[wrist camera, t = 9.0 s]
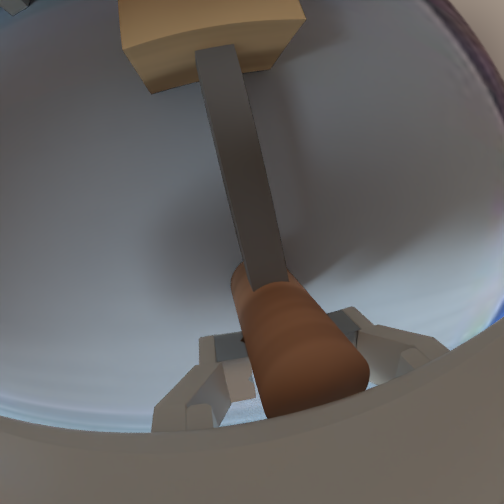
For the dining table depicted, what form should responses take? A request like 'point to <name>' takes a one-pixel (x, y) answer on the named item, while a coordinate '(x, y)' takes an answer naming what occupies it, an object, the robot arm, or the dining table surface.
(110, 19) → the dining table surface
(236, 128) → the toy hammer
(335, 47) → the dining table surface
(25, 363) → the dining table surface
